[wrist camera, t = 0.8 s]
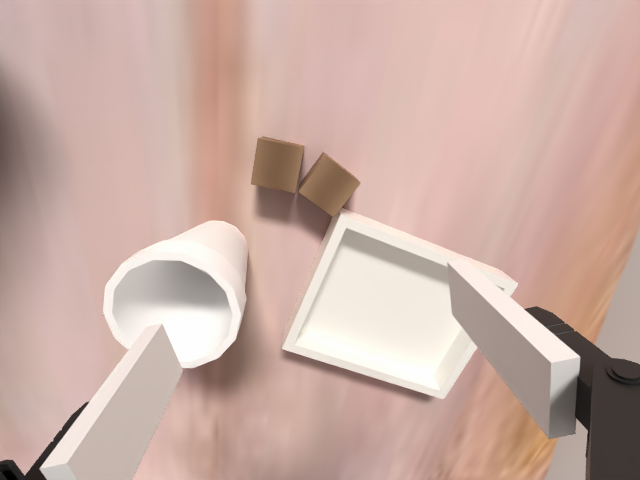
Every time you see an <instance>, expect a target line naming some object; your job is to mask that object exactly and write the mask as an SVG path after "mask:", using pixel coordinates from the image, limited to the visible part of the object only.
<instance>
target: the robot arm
mask: <svg viewBox="0 0 640 480" xmlns="http://www.w3.org/2000/svg"><path fill="white" fill-rule="evenodd" d="M447 265H448V276H449V287H450V298H451V310H452V315H453V316H454V318H455V319H456V320H457V322H458V323H459V324H460V325H461V327H462V328H463V329H464V331H465V332H466V333H467V334H468V336H469V337H470V338H471V340H472V341H473V342H474V343H475V345H476V346H477V347H478V349H479V350H480V351H481V352H482V354H483V355H484V356H485V358H486V359H487V360H488V361H489V363H490V364H491V365H492V367H493V368H494V369H495V370H496V372H497V373H498V374H499V376H500V377H501V378H502V379H503V381H504V382H505V383H506V385H507V386H508V387H509V388H510V390H511V391H512V392H513V394H514V395H515V396H516V397H517V399H518V400H519V401H520V403H521V404H522V405H523V406H524V408H525V409H526V410H527V412H528V413H529V414H530V415H531V417H532V418H533V419H534V421H535V422H536V423H537V424H538V426H539V427H540V428H541V430H542V431H543V432H544V433H545V435H546V436H547V437H548V439H552V438H557V437H562V436H567V435H572V434H575V430H576V418H577V419H578V420H579V421H580V422H581V423H582V425H583V426H584V427H585V428H586V429H587V430H588V435H587V447H586V448H587V449H586V480H640V365H639V364H638V363H635V362H631V361H628V360H625V359H615V358H611V357H609V356H608V355H606V354H605V353H604V352H603V351H601V350H600V349H599V348H597V347H596V346H595V345H594V344H592V343H591V342H590V341H588V340H587V339H586V338H585V337H583V336H582V335H581V334H579V333H578V332H577V331H574V329H573V328H571V327H570V326H569V325H568V324H565V323H564V321H562V320H561V319H560V318H558V317H557V316H556V315H554V314H553V313H551V312H549V311H547V310H544V309H542V308H539V307H537V306H536V307H532V308H527V309H523V308H522V307H521V306H520V305H518V304H517V303H516V302H515V301H514V300H513V299H511V298H510V297H509V296H508V295H507V294H505V293H504V292H503V291H502V290H501V289H500V288H498V287H497V286H496V285H495V284H494V283H493V282H491V281H490V280H489V279H488V278H487V277H485V276H484V275H483V274H482V273H481V272H480V271H478V270H477V269H476V268H475V267H474V266H472V265H471V264H470V263H469V262H468V261H467V260H465V259H460V260H455V261H450V262H447ZM182 373H183V369H182V367H181V365H180V363H179V360H178V358H177V356H176V353H175V351H174V349H173V347H172V344H171V342H170V340H169V337H168V335H167V333H166V331H165V328H164V326H163V324H162V323H161V324H157V325H152V326H147V327H146V328H145V329H144V330H143V332H142V333H141V334H140V336H139V337H138V338H137V340H136V341H135V342H134V343H133V345H132V346H131V347H130V349H129V350H128V351H127V353H126V354H125V355H124V357H123V358H122V359H121V361H120V362H119V363H118V365H117V366H116V367H115V369H114V370H113V371H112V373H111V374H110V375H109V377H108V378H107V379H106V381H105V382H104V383H103V385H102V386H101V387H100V389H99V390H98V391H97V393H96V394H95V395H94V397H93V398H92V399H91V401H90V402H86V403H85V404H84V405H83V406H82V407H81V408H79V409H78V410H77V411H76V412H75V413H74V414H73V415H72V416H71V417H70V418H69V420H68V421H67V422H66V423H65V425H64V426H63V427H62V430H61V431H59V432H58V434H57V435H56V436H55V438H54V441H53V442H51V443H50V444H49V445H48V447H47V448H46V449H45V450H44V452H43V453H42V454H41V456H40V457H39V458H38V459H37V461H36V462H35V463H34V465H33V466H32V467H31V468H30V470H29V471H28V472H27V474H26V475H25V476H24V474H23V473H22V472H21V470H20V469H19V468H18V466H17V465H16V463H15V462H14V461H13V460H4V461H0V480H132V479H133V477H134V475H135V473H136V471H137V468H138V466H139V464H140V462H141V460H142V458H143V456H144V454H145V451H146V449H147V447H148V445H149V443H150V441H151V439H152V437H153V434H154V432H155V430H156V428H157V426H158V424H159V422H160V420H161V417H162V415H163V413H164V411H165V409H166V407H167V405H168V403H169V400H170V398H171V396H172V394H173V392H174V390H175V388H176V386H177V383H178V381H179V379H180V377H181V375H182Z"/></svg>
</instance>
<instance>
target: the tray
mask: <svg viewBox="0 0 640 480" xmlns="http://www.w3.org/2000/svg"><path fill="white" fill-rule="evenodd" d="M460 259H465V260H467V261H468V262H469V263H470V264H471V265H472V266H474V267H475V268H476V269H477V270H478V271H480V272H481V273H482V274H483V275H484V276H485V277H487V278H488V279H489V280H490V281H491V282H493V283H494V284H495V285H496V286H497V287H498V288H500V289H501V290H502V291H503V292H504V293H505V294H507V295H508V296H509V297H510V296H511V294H512V293H513V291H514V290H515V288H516V287H517V285H518V283H517V282H515V281H514V280H513V279H511V278H510V277H509V276H507V275H506V274H505V273H503V272H502V271H501V270H499V269H496V268H494V267H491V266H489V265H486V264H484V263H481V262H479V261H476V260H473V259H471V258H468V257H466V256H463V255H461V254H458V253H456V252H453V251H451V250H448V249H446V248H443V247H440V246H438V245H435V244H433V243H430V242H428V241H425V240H423V239H420V238H418V237H415V236H412V235H410V234H407V233H405V232H402V231H400V230H397V229H395V228H392V227H390V226H387V225H384V224H382V223H379V222H377V221H374V220H372V219H369V218H367V217H364V216H362V215H359V214H357V213H354V212H351V211H349V210H346V209H344V208H341V209H340V210H339V211H338V213H337V214H336V215H335V216H334V218H333V217H332V220H331V222H330V224H329V227H328V229H327V231H326V234H325V236H324V238H323V241H322V243H321V245H320V248H319V250H318V252H317V255H316V257H315V259H314V261H313V264H312V266H311V268H310V271H309V273H308V275H307V278H306V280H305V282H304V285H303V287H302V289H301V292H300V294H299V296H298V299H297V301H296V303H295V306H294V308H293V310H292V313H291V315H290V317H289V320H288V322H287V324H286V327H285V329H284V334H283V343H282V349H283V350H286V351H290V352H293V353H296V354H299V355H303V356H306V357H309V358H312V359H315V360H319V361H322V362H325V363H328V364H331V365H335V366H338V367H341V368H344V369H347V370H351V371H354V372H357V373H360V374H363V375H367V376H370V377H373V378H376V379H380V380H383V381H386V382H389V383H392V384H396V385H399V386H402V387H405V388H408V389H412V390H415V391H418V392H421V393H424V394H428V395H431V396H434V397H437V398H440V399H444V398H445V396H446V395H447V393H448V392H449V390H450V389H451V387H452V386H453V384H454V383H455V381H456V379H457V378H458V376H459V375H460V373H461V372H462V370H463V369H464V367H465V366H466V364H467V362H468V361H469V359H470V358H471V356H472V355H473V353H474V352H475V350H476V349H477V346H476V345H475V343H474V342H473V341H472V340H471V338H470V337H469V336H468V334H467V333H466V332H465V331H464V329H463V328H462V327H461V325H460V324H459V323H458V322H457V320H456V319H455V318H454V316H453V315H452V310H451V298H450V287H449V276H448V265H447V262H450V261H455V260H460Z"/></svg>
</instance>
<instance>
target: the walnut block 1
mask: <svg viewBox="0 0 640 480" xmlns="http://www.w3.org/2000/svg"><path fill="white" fill-rule="evenodd" d="M303 151H304V146H303V145H299V144H294V143H290V142H285V141H281V140H276V139H271V138H267V137H261V138H258V141H257V147H256V154H255V161H254V167H253V174H252V181H251V184H252V185H257V186H262V187H267V188H272V189H277V190H282V191H287V192H291V193H295V192H296V187H297V182H298V176H299V171H300V166H301V161H302V156H303Z"/></svg>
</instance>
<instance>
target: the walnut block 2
mask: <svg viewBox="0 0 640 480" xmlns="http://www.w3.org/2000/svg"><path fill="white" fill-rule="evenodd" d="M359 185H360V182H359V181H358V180H357V179H356V178H355V177H354V176H353V175H352V174H351V173H349V172H348V171H347V170H345V169H344V168H343V167H342V166H340V165H339V164H338V163H336V162H335V161H334V160H333V159H331V158H330V157H329V156H328V155H326V154H325V153H324V152H323V153H322V155H321V156H320V157H319V159H318V160H317V161H316V163H315V164H314V165H313V167H312V168H311V169H310V171H309V172H308V174H307V175H306V176H305V178H304V179H303V180H302V182H301V183H300V184H299V193H301V194H302V195H303V196H305V197H306V198H307V199H309V200H310V201H311V202H313V203H314V204H316V205H317V206H318V207H320V208H321V209H322V210H324V211H325V212H326V213H328V214H329V215H331V216H332V217H333V218H334V216H335V215H336V214H337V213H338V211H339V210H340V209H341V207H342V206H343V205H344V204H345V202H346V201H347V200H348V199H349V197H350V196H351V195H352V194H353V192H354V191H355V190H356V188H357V187H358V186H359Z"/></svg>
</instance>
